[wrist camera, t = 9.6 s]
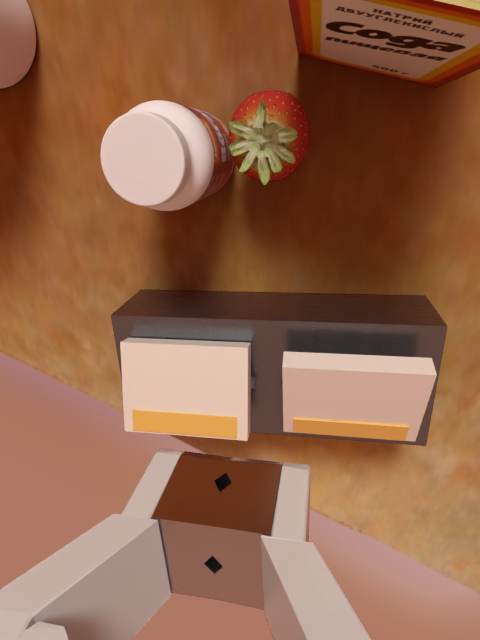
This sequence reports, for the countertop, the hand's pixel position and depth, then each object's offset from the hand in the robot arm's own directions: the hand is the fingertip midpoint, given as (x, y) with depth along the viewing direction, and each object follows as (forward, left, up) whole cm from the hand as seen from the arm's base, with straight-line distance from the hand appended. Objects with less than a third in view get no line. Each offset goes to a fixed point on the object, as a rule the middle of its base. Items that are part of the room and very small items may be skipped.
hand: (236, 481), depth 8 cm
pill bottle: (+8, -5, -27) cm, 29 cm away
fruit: (+2, -6, -27) cm, 28 cm away
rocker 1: (+8, +11, -19) cm, 23 cm away
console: (+1, +11, -27) cm, 29 cm away
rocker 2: (-4, +11, -19) cm, 22 cm away
